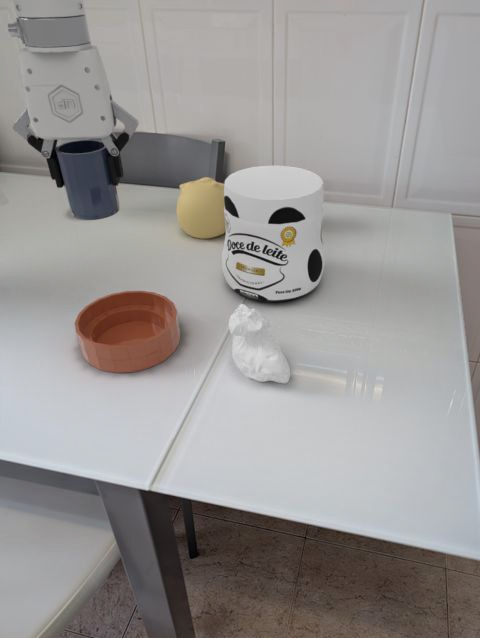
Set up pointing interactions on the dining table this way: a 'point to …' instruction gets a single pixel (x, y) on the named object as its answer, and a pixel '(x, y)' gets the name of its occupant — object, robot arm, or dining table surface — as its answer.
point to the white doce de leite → (273, 232)
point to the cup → (87, 179)
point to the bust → (256, 347)
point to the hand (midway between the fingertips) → (89, 182)
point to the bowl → (128, 331)
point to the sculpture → (202, 208)
